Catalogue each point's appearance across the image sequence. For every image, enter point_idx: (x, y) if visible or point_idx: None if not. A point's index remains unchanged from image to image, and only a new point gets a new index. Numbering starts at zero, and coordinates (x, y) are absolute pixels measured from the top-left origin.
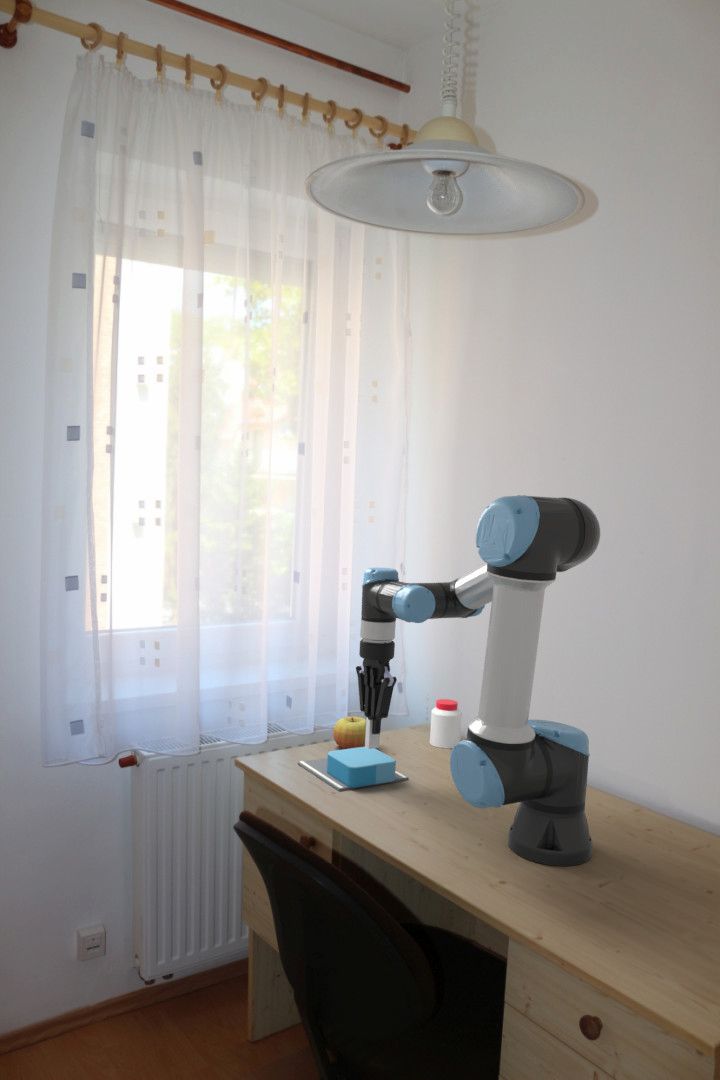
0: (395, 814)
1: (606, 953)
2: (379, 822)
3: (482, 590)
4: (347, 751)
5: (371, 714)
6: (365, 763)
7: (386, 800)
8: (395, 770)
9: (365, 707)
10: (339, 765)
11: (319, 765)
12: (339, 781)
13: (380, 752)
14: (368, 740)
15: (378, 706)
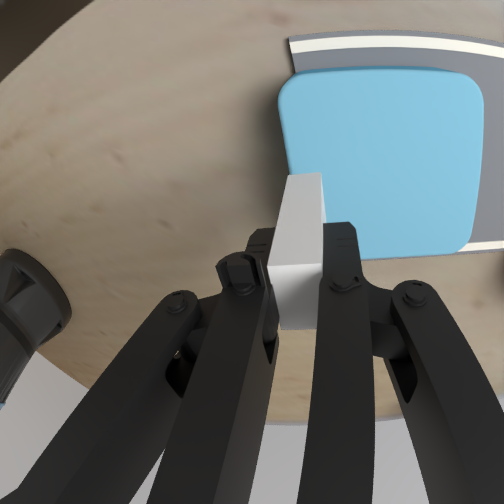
0: (108, 136)
1: None
2: (74, 90)
3: None
4: (458, 154)
5: (253, 298)
6: (309, 149)
7: (190, 145)
8: (381, 258)
9: (355, 322)
10: (368, 68)
11: (498, 87)
12: (354, 65)
13: (399, 251)
14: (287, 191)
15: (133, 366)
